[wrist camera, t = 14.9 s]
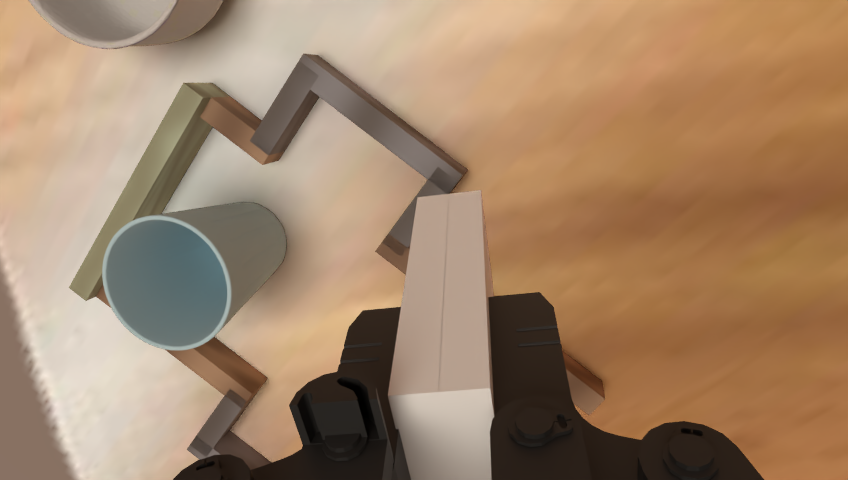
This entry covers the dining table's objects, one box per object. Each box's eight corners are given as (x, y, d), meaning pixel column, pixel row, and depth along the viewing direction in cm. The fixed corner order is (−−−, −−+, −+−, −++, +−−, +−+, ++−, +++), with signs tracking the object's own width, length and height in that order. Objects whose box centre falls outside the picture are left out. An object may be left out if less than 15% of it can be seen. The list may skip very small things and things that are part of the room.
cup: (308, 196, 43) (234, 230, 33) (298, 301, 45) (226, 364, 35) (204, 177, 44) (102, 204, 34) (199, 281, 46) (102, 335, 36)
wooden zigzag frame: (662, 318, 40) (672, 339, 37) (405, 587, 49) (395, 623, 46) (255, 7, 41) (229, 0, 37) (70, 328, 49) (35, 346, 46)
